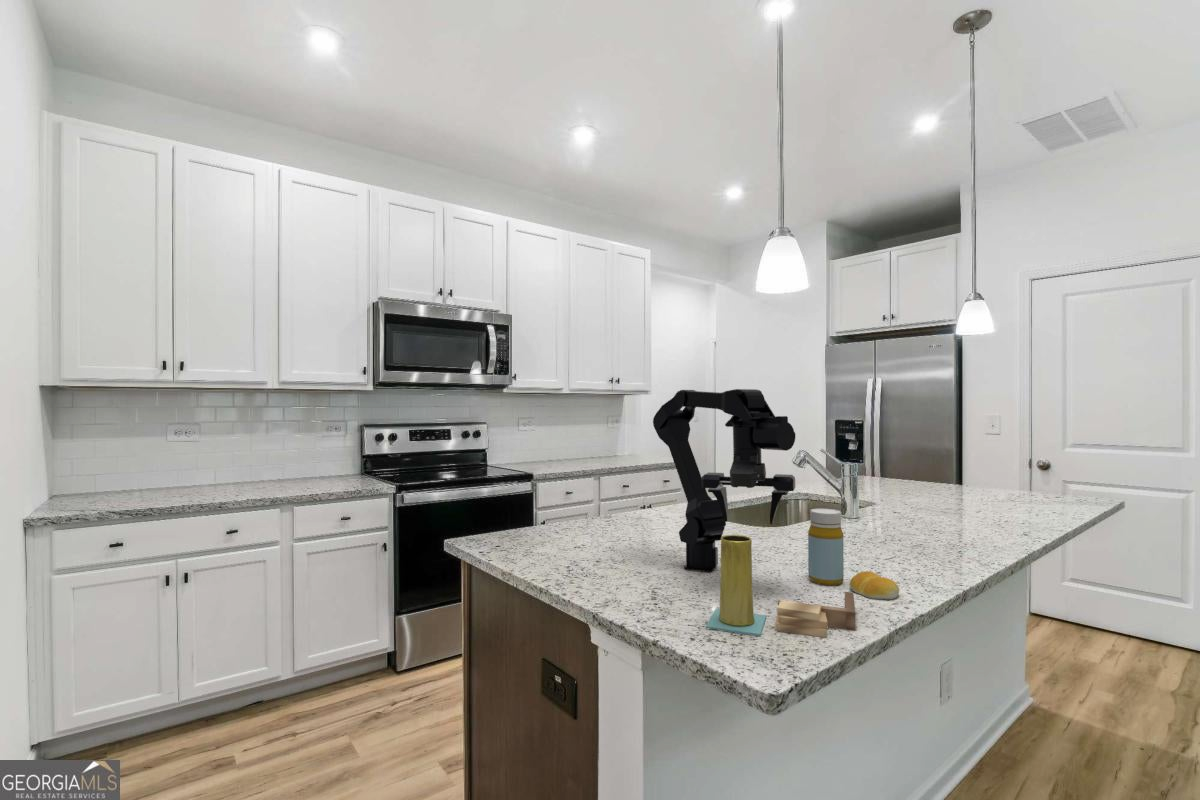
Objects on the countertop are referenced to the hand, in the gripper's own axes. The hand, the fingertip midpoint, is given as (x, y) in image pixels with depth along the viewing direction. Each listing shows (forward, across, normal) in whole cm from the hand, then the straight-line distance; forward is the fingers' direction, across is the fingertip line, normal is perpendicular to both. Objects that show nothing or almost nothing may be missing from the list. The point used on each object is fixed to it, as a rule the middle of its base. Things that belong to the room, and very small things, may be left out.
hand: (748, 522), depth 122 cm
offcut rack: (+13, +14, -16) cm, 25 cm away
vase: (+13, +1, -22) cm, 26 cm away
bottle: (+13, +15, +9) cm, 22 cm away
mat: (+13, +1, -22) cm, 26 cm away
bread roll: (+14, +24, +4) cm, 28 cm away
